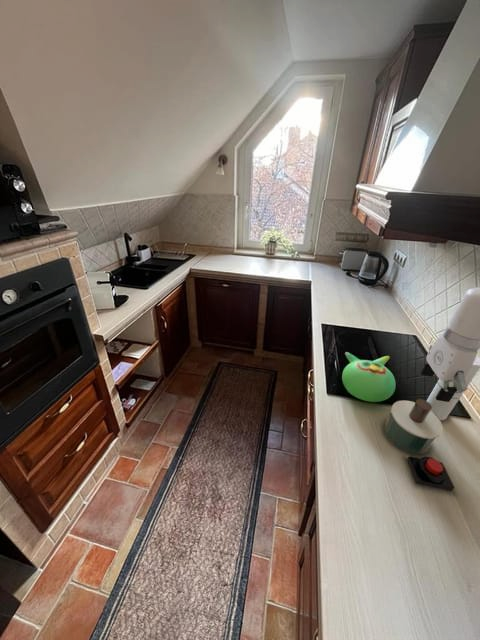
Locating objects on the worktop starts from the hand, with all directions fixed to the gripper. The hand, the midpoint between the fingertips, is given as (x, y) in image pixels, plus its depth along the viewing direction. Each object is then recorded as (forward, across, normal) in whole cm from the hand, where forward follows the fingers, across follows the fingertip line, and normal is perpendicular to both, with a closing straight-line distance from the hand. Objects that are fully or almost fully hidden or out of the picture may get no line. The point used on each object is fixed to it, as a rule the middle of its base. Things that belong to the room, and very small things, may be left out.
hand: (433, 387), depth 71 cm
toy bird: (+22, -17, -10) cm, 30 cm away
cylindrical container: (+22, -13, +14) cm, 29 cm away
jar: (+22, 0, 0) cm, 22 cm away
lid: (+14, 0, 0) cm, 14 cm away
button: (+19, +12, +2) cm, 23 cm away
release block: (+22, +12, +2) cm, 25 cm away
